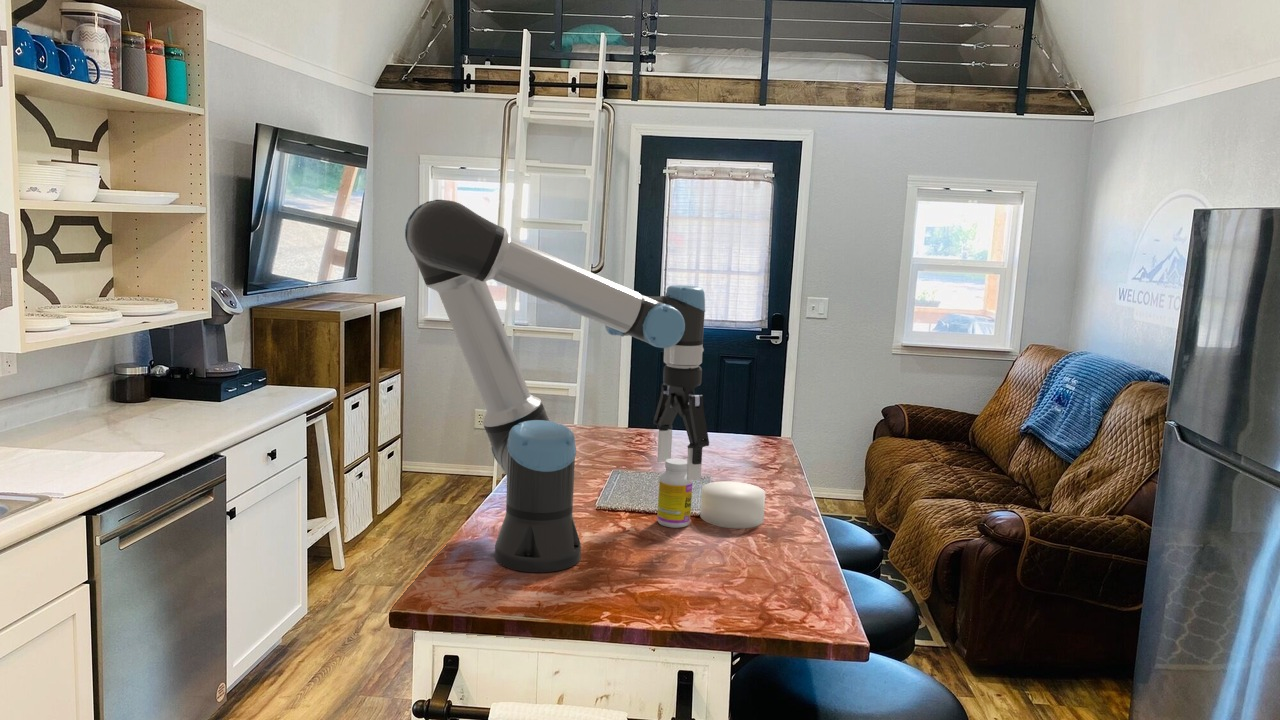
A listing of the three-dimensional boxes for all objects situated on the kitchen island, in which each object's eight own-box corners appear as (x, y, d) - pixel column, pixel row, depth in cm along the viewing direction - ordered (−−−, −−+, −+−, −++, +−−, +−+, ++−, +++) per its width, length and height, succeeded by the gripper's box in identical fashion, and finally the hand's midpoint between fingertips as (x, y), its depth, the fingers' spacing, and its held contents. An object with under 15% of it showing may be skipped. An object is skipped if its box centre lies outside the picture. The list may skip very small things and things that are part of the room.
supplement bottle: (687, 530, 180) (691, 467, 178) (654, 526, 182) (657, 463, 180) (692, 520, 187) (696, 458, 185) (660, 516, 188) (663, 455, 186)
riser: (729, 533, 180) (731, 503, 180) (687, 514, 191) (689, 486, 190) (776, 522, 188) (778, 494, 187) (734, 505, 198) (735, 478, 198)
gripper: (730, 375, 169) (725, 486, 173) (673, 354, 192) (669, 453, 195) (694, 376, 166) (689, 489, 170) (640, 355, 189) (636, 455, 192)
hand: (678, 470), depth 183 cm, fingers open, 13 cm apart
